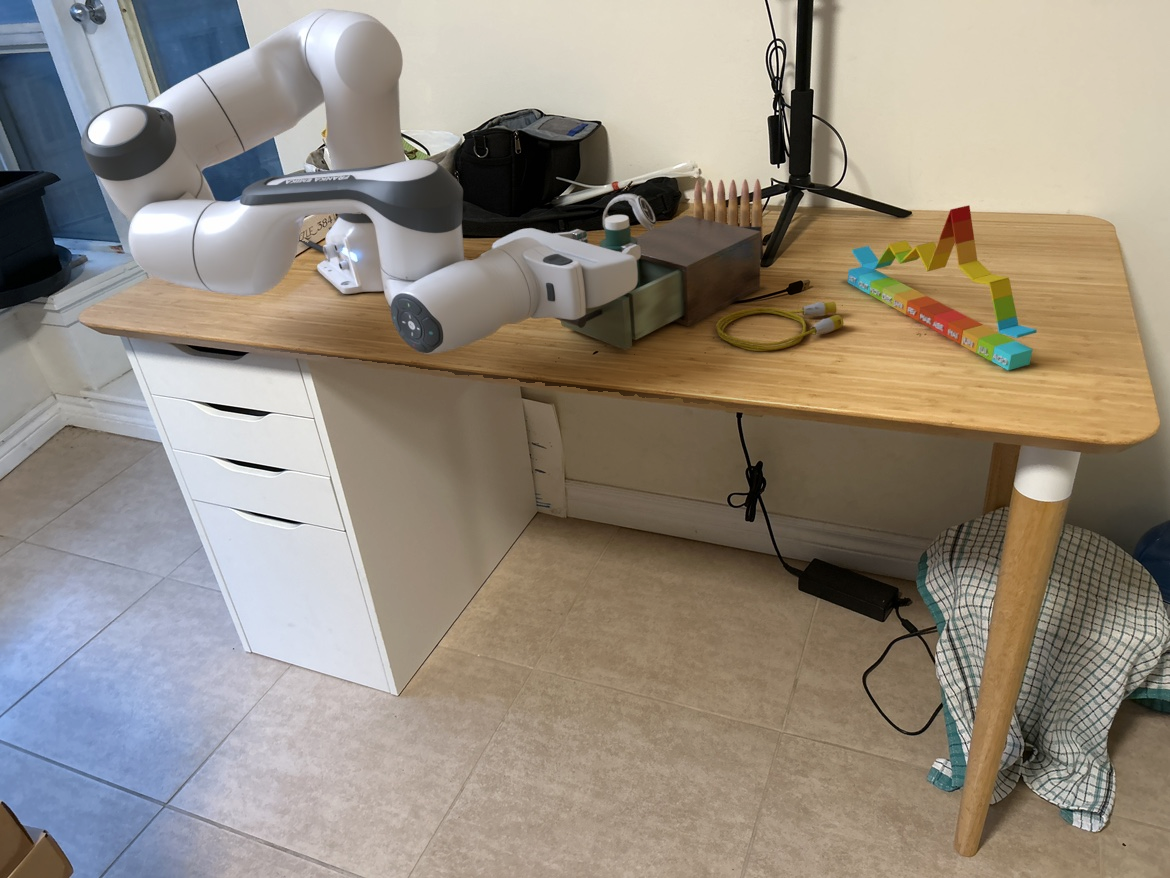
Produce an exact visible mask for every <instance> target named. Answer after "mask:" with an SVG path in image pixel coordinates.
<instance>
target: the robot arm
mask: <svg viewBox="0 0 1170 878" xmlns="http://www.w3.org/2000/svg"><path fill="white" fill-rule="evenodd" d="M403 61H404V59H403V53H402V49H401V46H400V44H399V41H398V39H397V38H396V36H395V35H394V34H393V33H392V32H391V30H389V28H388V27H387V26H386V25H384V24H383V23H382V22H381V21H380V20H379V19H377V18H376V17H374V16H372V15H369V14H368V13H364V12H360V11H359V12H358V11H351V10H344V9H343V10H341V9H333V8H321V9H317V10H314V11H312V12H311V13H309V14H307V15H305V16H303V17H301V18H299V19H297V20H296V21H294V22H292V23H290V24H288V25H287V26H285V27H283V28H281V29H279V30H278V31H276V32H274V33H273V34H271V35H270V36H268V37H266V38H264V39H263V40H261V41H260V42H258V43H256V44H255V45H254V46H252V47H249V48H248V49H246V50H244V51H241V52H240V53H237V54H235V55H234V56H231V57H229V58H227V59H225V60H223V61H220V62H219V63H217V64H214V65H212V66H210V67H208V68H206V69H203V70H201V71H200V72H198V73H195V74H194V75H191V76H190V77H187V78H186V79H183V80H182V81H180V82H178V83H176V84H174V85H173V86H171V87H170V88H168V89H166V90H165V91H164V92H162V93H160V94H159V95H158V96H156V97H154V99H152V100H151V101H150V102H148V103H147V104H140V103H139V104H137V103H124V104H118V105H117V104H116V105H113V106H110V107H107V108H106V109H104V110H102V111H100V112H99V113H97V114H96V115H95V116H93V117H91V120H89V121H88V123H87V125H86V127H85V129H84V131H83V133H82V136H81V138H80V146H81V149H82V152H83V155H84V157H85V160H86V162H87V164H88V167H90V170H91V171H92V172H93V173H94V175H96V176H97V177H98V179H99V181H100V182H101V185H102V186H103V188H104V189H105V191H106V193H107V194H108V196H109V197H110V199H111V201H112V202H113V203H114V205H115V206H116V208H117V209H118V211H119V212H120V213H121V214H122V215H124V217H126V218H127V220H128V221H129V222H130V225H129V228H128V235H127V237H128V247H129V251H130V254H131V255H132V257H133V260H134V261H135V263H136V265H138V267H140V268H141V269H142V270H143V271H144V272H145V273H147V274H148V275H149V276H152V277H155V278H157V279H160V280H163V281H166V282H168V283H171V284H175V285H178V286H182V287H186V288H188V289H189V288H190V289H194V290H197V291H198V290H199V291H203V292H209V293H215V294H221V295H229V296H237V297H238V296H239V297H252V296H259V295H263V294H265V293H267V292H269V291H271V290H273V289H274V288H276V287H277V286H278V285H279V284H280V283H281V282H282V281H283V280H284V279H285V278H286V276H287V275H288V274H289V272H290V270H291V268H292V266H293V264H294V262H295V259H296V257H297V253H298V249H299V242H300V240H299V237H300V235H301V231H302V226H303V224H304V220H305V217H307V216H322V215H337V217H338V218H336V220H335V222H334V223H333V225H332V226H330V227H328V231H327V233H326V235H325V244H323V245H320V244H318V243H317V242H313V241H311V240H310V241H309V242H308V243H307V242H305V241H302V242H301V243H303V244H304V245H306V246H307V247H310V248H312V249H315V250H316V251H319V252H320V253H322V254H324V256H325V258H326V259H324V260H322V261H321V262H320V263H318V264H317V266H316V267H317V272H319V274H321V276H323V277H324V278H325V279H326V280H327V281H328V282H329V283H330V284H331V285H332V286H334V288H336V289H337V290H338V291H339V292H341V293H342V294H344V295H351V294H357V293H363V292H365V293H366V292H383V293H384V296H385V299H386V303H387V305H388V307H389V308H390V317H391V320H392V324H393V325H394V328H395V330H396V332H397V333H398V335H399V337H400V338H401V339H402V341H404V342H405V343H406V344H407V345H408V347H410V348H411V349H413V350H414V351H416V352H418V353H421V354H425V355H435V354H440V353H445V352H450V351H453V350H454V351H455V350H457V349H460V348H463V347H466V346H470V345H472V344H474V343H477V342H479V341H481V340H483V339H486V338H488V337H490V336H493V335H494V334H495V333H497V332H498V331H499V330H500V329H501V328H502V327H504V326H507V325H515V324H519V323H521V322H523V321H525V320H528V319H530V318H531V319H533V320H534V319H535V320H536V319H546V318H548V319H555V318H561V319H568V320H576V319H579V318H581V317H583V316H584V315H585V314H586V308H594V307H598V306H601V305H604V304H606V303H608V302H611V301H613V300H615V299H617V298H619V297H621V296H623V295H625V294H627V293H628V292H630V291H632V290H633V289H634V288H635V287H636V285H637V282H638V269H637V260H638V259H639V258H640V256H641V250H640V246H639V245H636V244H632V243H628V244H627V245H623V246H622V252H619V251H614V250H610V249H606V248H603V247H600V245H595V244H593V243H589V240H588V239H589V238H588V232H587V231H586V230H582V229H578V228H576V229H573V230H571V231H565V232H555V233H554V232H553V233H552V232H547V231H544V230H541V229H536V228H533V227H529V228H527V227H526V228H522V229H518V230H516V231H513V232H512V233H509V234H507V235H505V236H502V237H501V238H499V239H497V240H496V241H494V242H493V243H492V246H491V249H488V250H486V251H485V252H483V253H481V254H480V255H479V256H478V257H476V258H475V259H467V258H465V251H464V250H465V249H464V237H463V235H464V234H463V224H462V222H463V209H464V207H463V206H464V189H463V187H462V185H461V184H460V183H459V181H458V180H457V179H456V177H455V176H453V174H451V172H449V171H448V170H447V168H445V167H444V166H443V165H441V164H440V163H438V162H437V161H434V160H432V159H410V160H407V158H406V154H405V149H404V148H405V147H404V143H403V137H402V129H401V114H400V113H401V112H400V110H401V109H400V107H401V106H400V103H401V102H400V78H401V75H402V71H403V65H404V64H403V63H404V62H403ZM323 104H324V105H325V117H326V137H325V143H326V148H327V152H328V156H329V160H330V165H331V168H332V169H331V170H318V171H307V172H295V173H288V174H281V175H273V176H269V177H266V178H263V179H259V180H257V181H255V182H253V183H251V184H250V185H247V186H246V187H245V188H244V189H243V190H242V193H241V196H240V198H239V199H237V200H233V201H223V200H216V198H215V197H214V193H213V191H212V188H211V187H210V185H209V183H208V181H207V179H206V177H205V175H204V174H203V171H204V169H206V168H209V167H212V166H215V165H218V164H221V163H223V162H226V161H229V160H230V159H233V158H235V157H237V156H239V155H242V154H244V153H245V152H247V151H249V150H251V149H253V148H255V147H257V146H260V145H262V144H263V143H265V142H268V141H269V140H271V139H273V138H275V137H277V136H279V135H281V134H284V133H285V132H286V131H289V130H291V129H293V128H294V127H296V126H297V125H298V124H299V122H300V121H301V120H303V118H305V117H306V116H308V115H309V114H310V113H312V112H313V111H314V110H316V109H318V107H320V106H322V105H323Z"/></svg>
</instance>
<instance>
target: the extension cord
mask: <svg viewBox="0 0 1170 878" xmlns="http://www.w3.org/2000/svg"><path fill="white" fill-rule="evenodd" d="M801 313H802V315H803V316H808V317H818V318H819V317H824V316H826V315H832V316H830V317H826V318H822V319H821V320H819V321H817V323H814V325H812V326H811V327H810V330H808V331H807V325H806V321H805V319H804V317H802V316H800V315H798V314H801ZM836 313H837V304H836V302H835V301H830V302H829V301H828V302H825V301H821V302H818V301H816V302H815V303H811V304H808V305H804V306H802V309H799V310H783V309H780V308H777V307H766V306H765V307H762V306H761V307H751V308H747V309H742V310H738V311H733V312H732V313H729V314H727V315H725V316H723V317H721V318H720V319H719V320H718V321H717V322H716V324H715V328H716V330H717V335H718V336H719V337H720V338H721V339H722V340H724V341H726V342H727V343H729V344H730V345H733V346H735V347H738V348H740V349H743V350H748V351H751V352H752V351H754V352H768V351H777V350H783V349H787V348H790V347H792V346H795V345H797V344H799V343H800V342H801V341H802V340H803V339H804V337H805V336H807V335H809V334H813V335H816V336H817V335H823V334H825V335H828V334H829V333H831V332H833V331H837V330H839V329H841V328H843V326H844V324H845V323H844V319H843V318H842V317H841V316H840V315H839V314H836ZM756 314H772V315H777V316H781V317H785V318H788V319H790V320H794V321H796V322H798V323H800V324H801V325H802V331H801V333H800V334H797V335H795V336H792V337H790V338H787V339H784V340H780V341H775V342H760V341H759V342H758V341H750V340H746V339H741V338H737V337H734V336H731V335H730V334H727V333H725V332H724V330H725V328H726V327H727V326H728V325H729V324H730V323H732V322H733V321H736V320H737V319H740V318H743V317H746V316H751V315H756ZM834 314H836V315H834Z"/></svg>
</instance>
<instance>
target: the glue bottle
mask: <svg viewBox="0 0 1170 878" xmlns="http://www.w3.org/2000/svg"><path fill="white" fill-rule="evenodd" d="M631 232H632V231H631V225H630V218H629V216H628V215H626V214H613V215H609V217H607V218H605V229H604V237H605V238H602V240H600V241H599V247H603V248H606V249H610V250H614V251H619V252H622V246H623V245H627V244H628V243H632V244H636V245H638V242H637V239H636V238H635V237H636V236H632V233H631ZM637 269H638V282H637V285H636V287H635V288H634V289H633V290H635V289H637V288H639V287H640V275H639V259H638V260H637ZM633 290H632V291H633ZM630 292H631V291H630ZM628 293H629V292H628ZM628 293H627V294H625V295H623V296H626V297H628Z"/></svg>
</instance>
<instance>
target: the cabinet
mask: <svg viewBox="0 0 1170 878" xmlns="http://www.w3.org/2000/svg"><path fill="white" fill-rule="evenodd" d="M760 236H761V231H756V230H751V229H747V228H742V227H738V226H733V225H729V224H724V223H719V222H716V220H715V221H710V220H706V219H705V218H704V219H701V218H697V217H693V215H685V216H681V217H679V218H677V219H675V220H672V221H670V222H668V223H665V224H663V225H660V226H658V227H656V228H654V229H653V230H651V231H646V232H644V233H642V234H639V235H637V236H634V237H635V238H636V239H637V242H638V245H639V246H640V250H641V256H640V259H643V260H647V261H651V262H654V263H658V264H662V265H665V266H669V267H672V268H676V269H680V270H683V293H684V315H683V316H682V317H680V318H678V319H676V320H674V321H672V322H673V323H677V324H680V325H683V326H686V327H690V326H692V325H694V324H696V323H698V322H700V321H701V320H704V319H705V318H707V317H709V316H711V315H713V314H715V313H716V312H718V311H721V310H723V309H725V308H726V307H728V306H730V305H732V304H734V303H736V302H737V301H739V300H741V299H743V298H745V297H746V296H749V295H751V294H753V293H754V292H757V291H759V290H760V289H761V259H760V250H761V237H760Z"/></svg>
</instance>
